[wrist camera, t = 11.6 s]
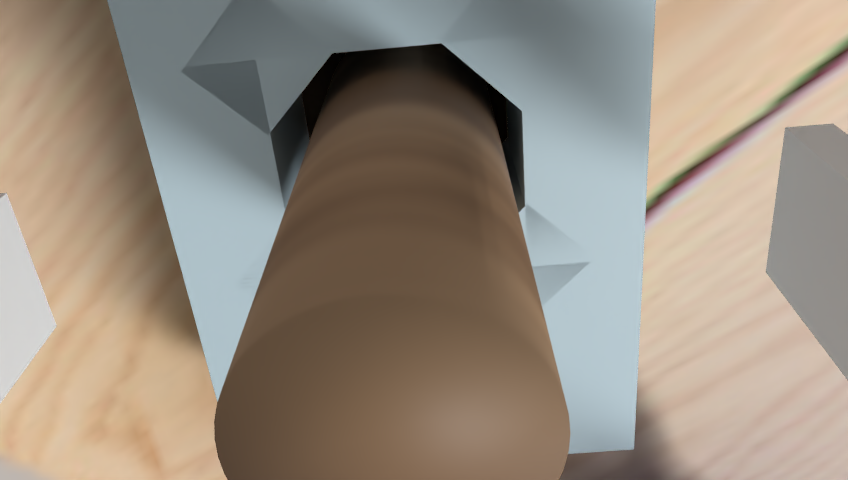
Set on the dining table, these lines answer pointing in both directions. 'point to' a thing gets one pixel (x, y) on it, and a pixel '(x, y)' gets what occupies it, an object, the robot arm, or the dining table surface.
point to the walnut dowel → (397, 297)
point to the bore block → (523, 149)
